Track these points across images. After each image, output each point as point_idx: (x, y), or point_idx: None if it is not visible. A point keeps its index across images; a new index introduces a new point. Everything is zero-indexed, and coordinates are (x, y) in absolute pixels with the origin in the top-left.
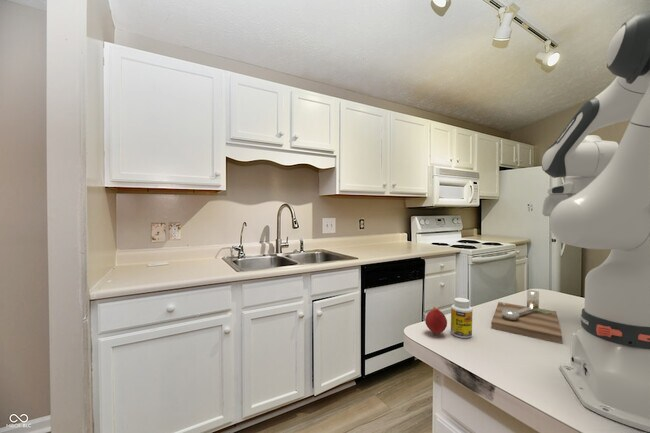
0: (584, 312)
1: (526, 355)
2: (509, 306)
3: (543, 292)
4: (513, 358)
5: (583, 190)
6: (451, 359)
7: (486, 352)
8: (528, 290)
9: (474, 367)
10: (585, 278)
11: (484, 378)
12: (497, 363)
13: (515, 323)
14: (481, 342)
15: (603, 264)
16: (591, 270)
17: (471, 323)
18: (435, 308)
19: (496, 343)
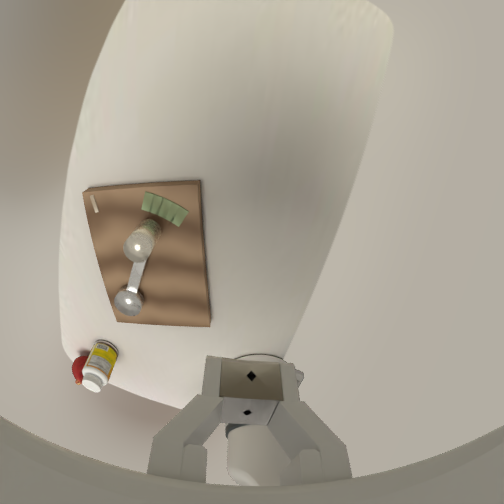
0: (227, 438)
1: (179, 364)
2: (107, 215)
3: None
4: (170, 374)
5: None
6: (131, 391)
7: (146, 373)
8: (125, 243)
9: (151, 395)
10: (227, 470)
11: (163, 403)
12: (162, 385)
13: (144, 311)
14: (132, 357)
15: (246, 484)
16: (233, 479)
17: (112, 366)
18: (79, 384)
19: (145, 353)
